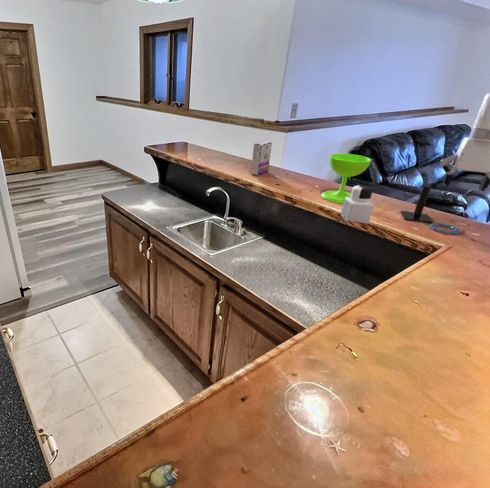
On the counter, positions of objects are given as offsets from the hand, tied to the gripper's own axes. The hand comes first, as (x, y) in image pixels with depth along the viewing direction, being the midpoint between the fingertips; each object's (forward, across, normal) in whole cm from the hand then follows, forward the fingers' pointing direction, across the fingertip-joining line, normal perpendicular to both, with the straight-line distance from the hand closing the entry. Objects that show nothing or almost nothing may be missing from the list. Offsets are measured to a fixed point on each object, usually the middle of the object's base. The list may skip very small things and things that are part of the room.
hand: (463, 187), depth 116 cm
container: (+17, +29, +1) cm, 33 cm away
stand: (+17, +7, -10) cm, 21 cm away
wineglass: (+17, +34, -25) cm, 45 cm away
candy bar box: (+17, +75, -50) cm, 92 cm away
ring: (+16, 0, -1) cm, 16 cm away
